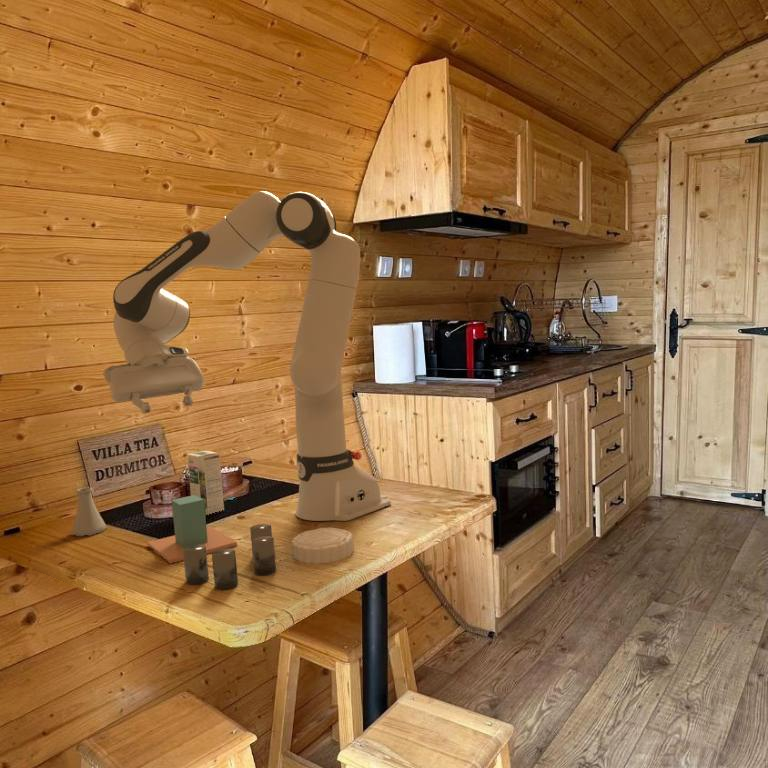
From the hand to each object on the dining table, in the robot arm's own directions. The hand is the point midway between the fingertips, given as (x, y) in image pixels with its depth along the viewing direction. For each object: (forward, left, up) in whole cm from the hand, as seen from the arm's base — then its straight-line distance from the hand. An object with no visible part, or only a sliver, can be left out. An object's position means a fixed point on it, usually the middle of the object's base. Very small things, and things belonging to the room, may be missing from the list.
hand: (168, 407), depth 153 cm
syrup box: (-10, -9, -28) cm, 31 cm away
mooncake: (-16, +35, -28) cm, 48 cm away
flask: (+16, -15, -28) cm, 36 cm away
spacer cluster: (+1, +33, -28) cm, 43 cm away
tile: (+2, +12, -28) cm, 30 cm away
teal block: (+2, +12, -27) cm, 29 cm away
